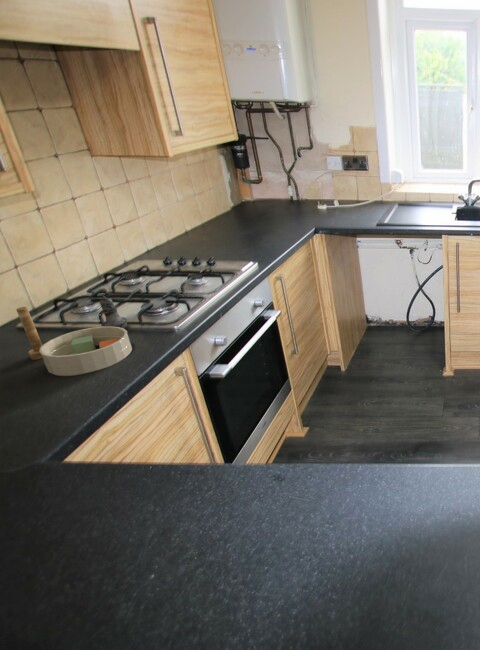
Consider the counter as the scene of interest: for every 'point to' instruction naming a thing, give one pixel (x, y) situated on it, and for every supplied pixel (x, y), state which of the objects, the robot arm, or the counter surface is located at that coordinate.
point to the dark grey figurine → (112, 314)
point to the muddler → (30, 332)
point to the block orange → (107, 342)
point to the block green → (83, 344)
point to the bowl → (68, 363)
